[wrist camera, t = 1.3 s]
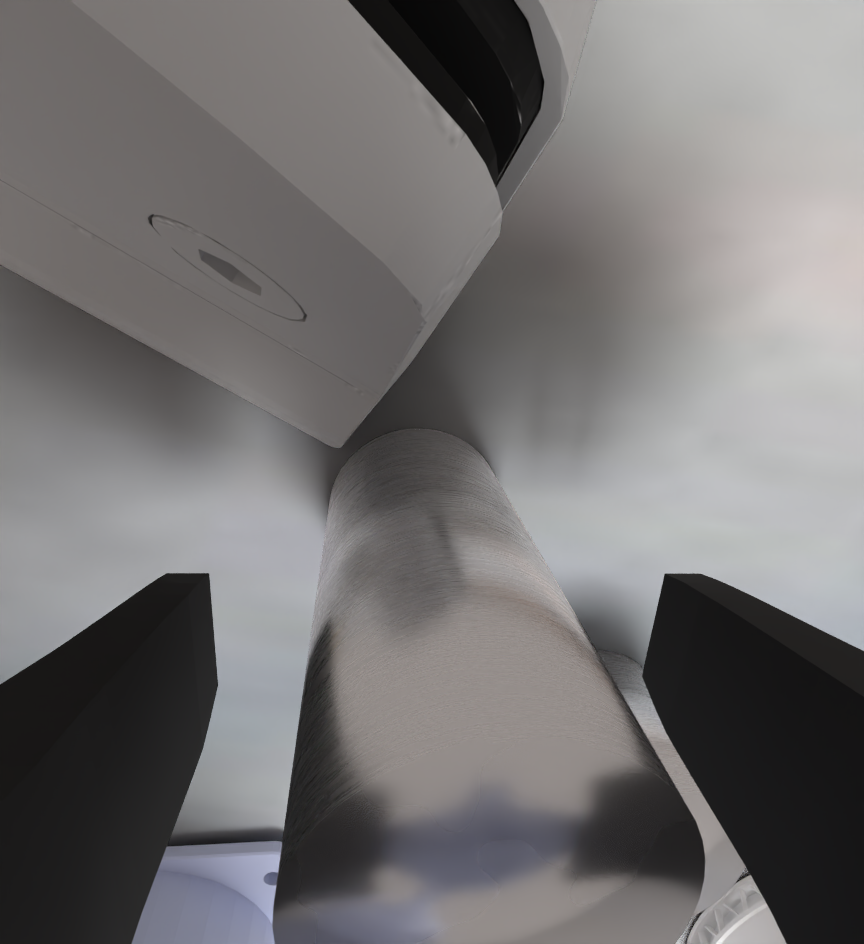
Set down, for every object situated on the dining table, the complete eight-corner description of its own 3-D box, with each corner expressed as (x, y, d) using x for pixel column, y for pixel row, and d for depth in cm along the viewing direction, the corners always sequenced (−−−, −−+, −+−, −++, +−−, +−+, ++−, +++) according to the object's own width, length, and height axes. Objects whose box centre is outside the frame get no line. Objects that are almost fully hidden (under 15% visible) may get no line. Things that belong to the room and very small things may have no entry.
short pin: (639, 762, 17) (726, 924, 13) (506, 767, 17) (552, 937, 13) (665, 648, 16) (771, 789, 12) (521, 650, 16) (579, 798, 11)
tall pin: (492, 585, 15) (660, 1025, 6) (328, 586, 14) (278, 1063, 6) (508, 430, 13) (751, 733, 5) (328, 425, 13) (264, 750, 5)
